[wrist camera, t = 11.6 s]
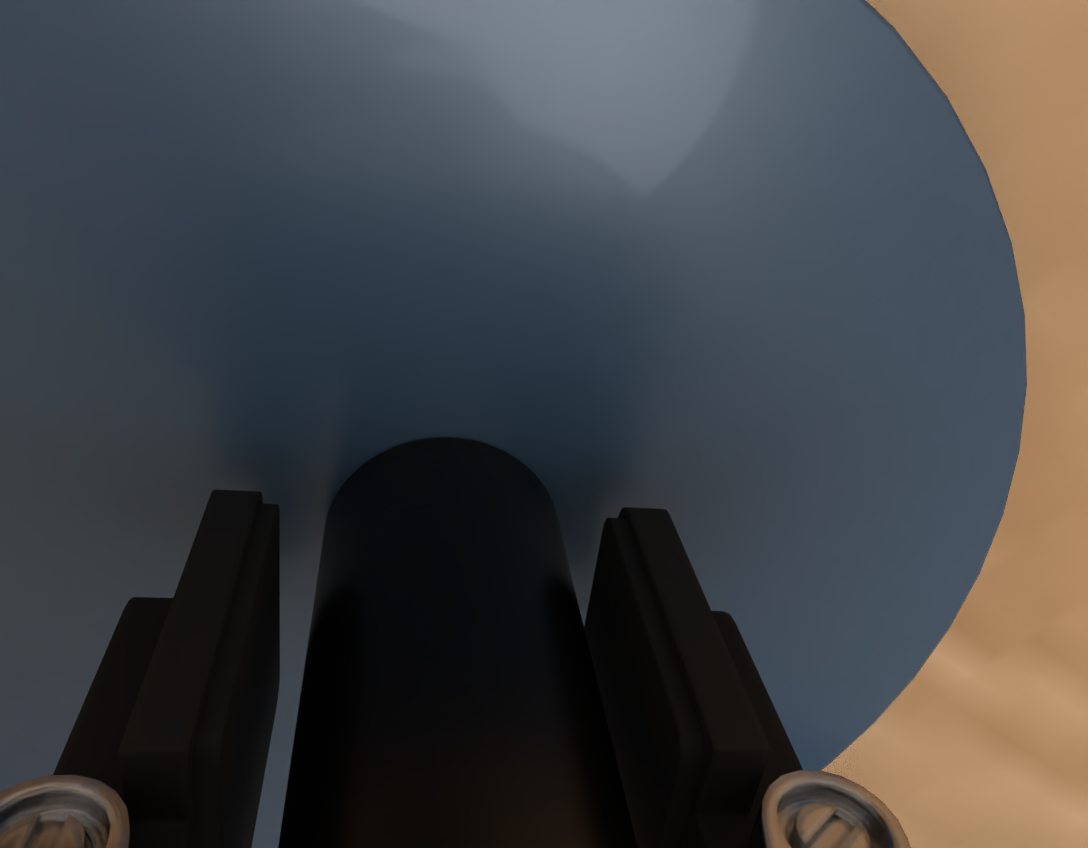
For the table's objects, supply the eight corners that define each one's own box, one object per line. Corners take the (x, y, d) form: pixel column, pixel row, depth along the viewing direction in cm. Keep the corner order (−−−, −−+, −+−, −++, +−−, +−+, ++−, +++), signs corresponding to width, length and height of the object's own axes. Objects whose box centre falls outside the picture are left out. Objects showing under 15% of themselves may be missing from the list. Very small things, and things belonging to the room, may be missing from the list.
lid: (137, 950, 18) (-28, 1566, 11) (-549, 43, 10) (-2706, 303, 3) (976, 733, 18) (1314, 1216, 11) (994, -352, 10) (2274, -963, 3)
